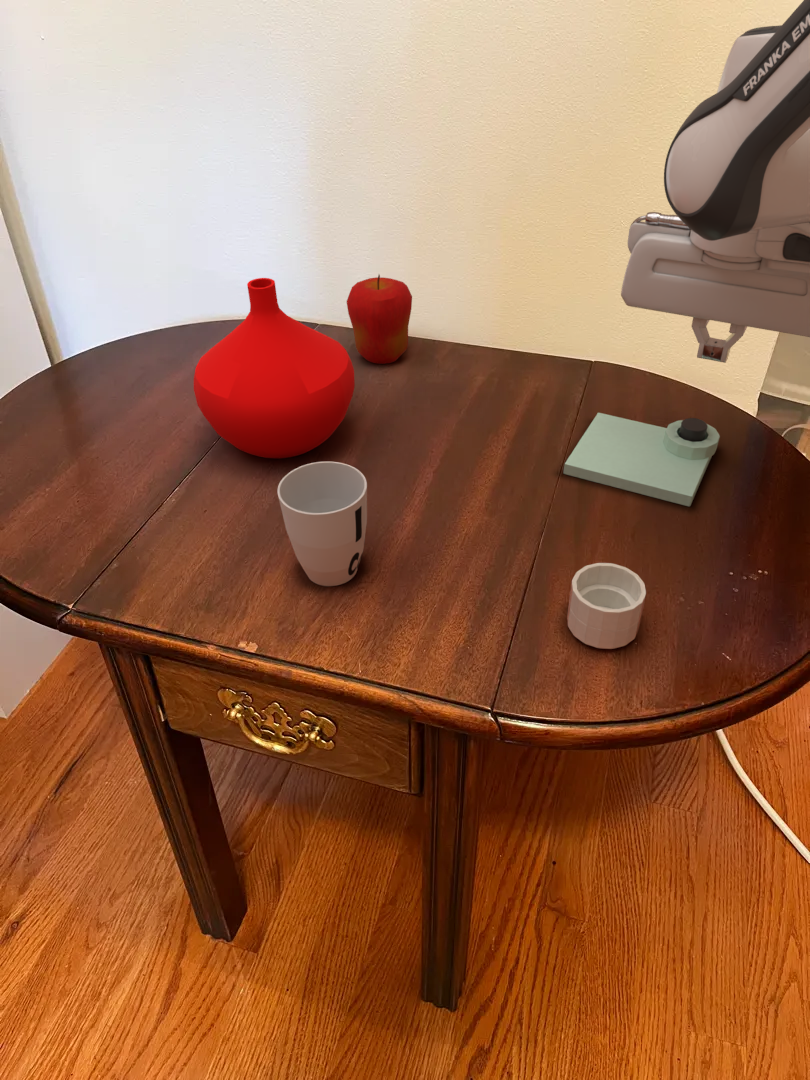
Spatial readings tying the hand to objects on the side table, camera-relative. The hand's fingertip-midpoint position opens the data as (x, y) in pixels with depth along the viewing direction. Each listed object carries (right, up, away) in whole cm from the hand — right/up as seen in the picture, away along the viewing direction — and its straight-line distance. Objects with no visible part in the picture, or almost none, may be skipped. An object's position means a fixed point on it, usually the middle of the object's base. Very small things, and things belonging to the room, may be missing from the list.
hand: (712, 358), depth 87 cm
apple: (-35, +6, +29) cm, 46 cm away
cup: (-39, -22, -4) cm, 45 cm away
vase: (-47, -7, +14) cm, 49 cm away
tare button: (0, -7, +7) cm, 10 cm away
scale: (-5, -10, +8) cm, 14 cm away
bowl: (-14, -27, -12) cm, 32 cm away
